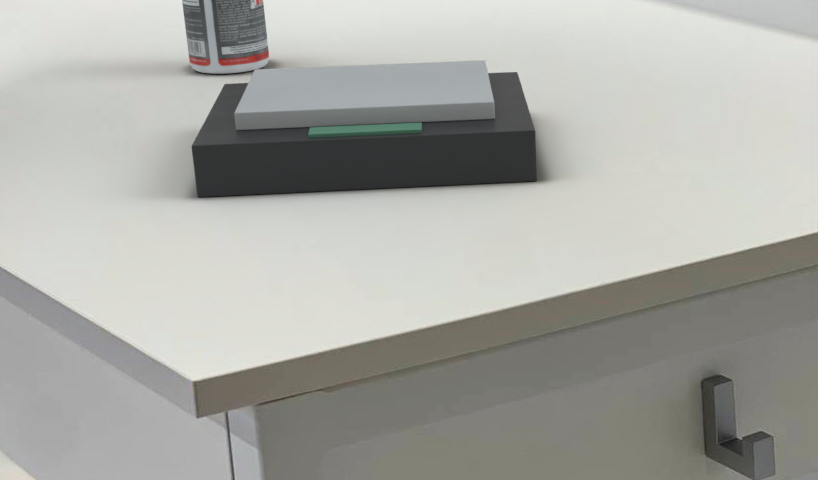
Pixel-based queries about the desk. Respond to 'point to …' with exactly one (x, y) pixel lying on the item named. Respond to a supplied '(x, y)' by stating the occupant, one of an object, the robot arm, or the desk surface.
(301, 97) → the scale
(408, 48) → the desk surface
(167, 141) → the desk surface
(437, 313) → the desk surface
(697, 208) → the desk surface
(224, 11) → the pill bottle
